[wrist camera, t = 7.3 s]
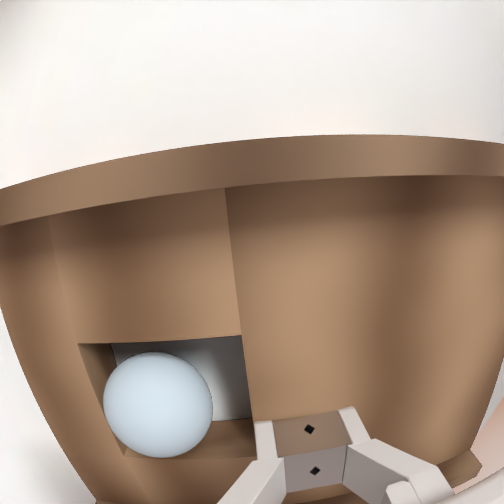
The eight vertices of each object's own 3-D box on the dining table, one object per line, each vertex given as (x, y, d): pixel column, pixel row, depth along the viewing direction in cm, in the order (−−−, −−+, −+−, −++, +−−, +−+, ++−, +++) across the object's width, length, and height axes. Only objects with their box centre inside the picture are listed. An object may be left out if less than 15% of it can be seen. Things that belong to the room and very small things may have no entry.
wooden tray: (484, 153, 11) (547, 151, 7) (447, 436, 14) (476, 476, 10) (16, 197, 10) (-48, 206, 6) (113, 480, 14) (97, 528, 10)
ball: (183, 325, 12) (223, 370, 9) (199, 403, 13) (238, 457, 10) (87, 346, 11) (91, 405, 7) (115, 425, 11) (133, 489, 8)
